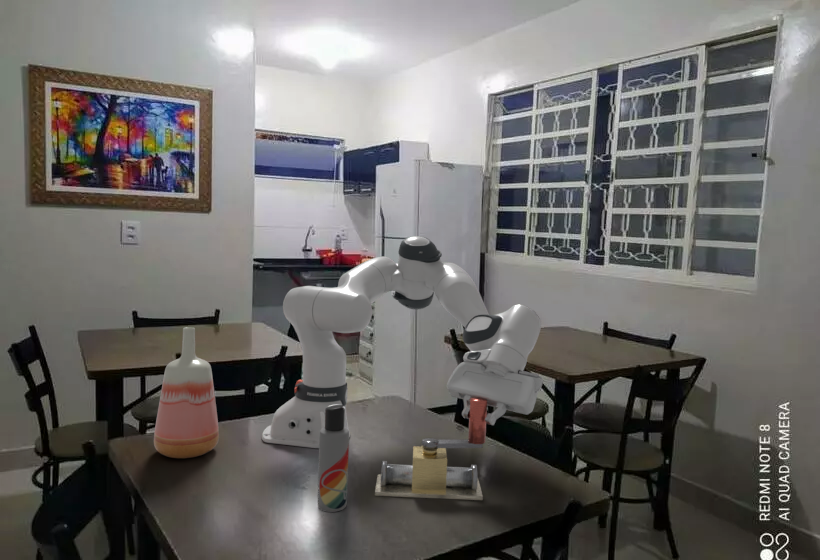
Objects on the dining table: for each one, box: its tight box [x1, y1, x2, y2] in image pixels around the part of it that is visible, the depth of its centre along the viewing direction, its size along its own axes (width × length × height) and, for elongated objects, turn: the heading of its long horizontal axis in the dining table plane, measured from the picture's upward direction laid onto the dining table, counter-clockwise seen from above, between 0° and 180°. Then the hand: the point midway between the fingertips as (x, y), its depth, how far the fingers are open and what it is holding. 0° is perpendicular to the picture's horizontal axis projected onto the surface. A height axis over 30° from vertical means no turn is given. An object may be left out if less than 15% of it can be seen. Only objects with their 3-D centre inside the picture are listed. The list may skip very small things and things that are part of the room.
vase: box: [153, 326, 220, 459], centre depth 142 cm, size 14×14×30 cm
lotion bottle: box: [317, 405, 350, 513], centre depth 117 cm, size 6×6×20 cm
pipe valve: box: [374, 445, 484, 501], centre depth 127 cm, size 22×9×9 cm, turn 89°
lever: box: [421, 397, 488, 450], centre depth 127 cm, size 14×4×10 cm, turn 97°
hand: (477, 420), depth 127 cm, fingers open, 4 cm apart
